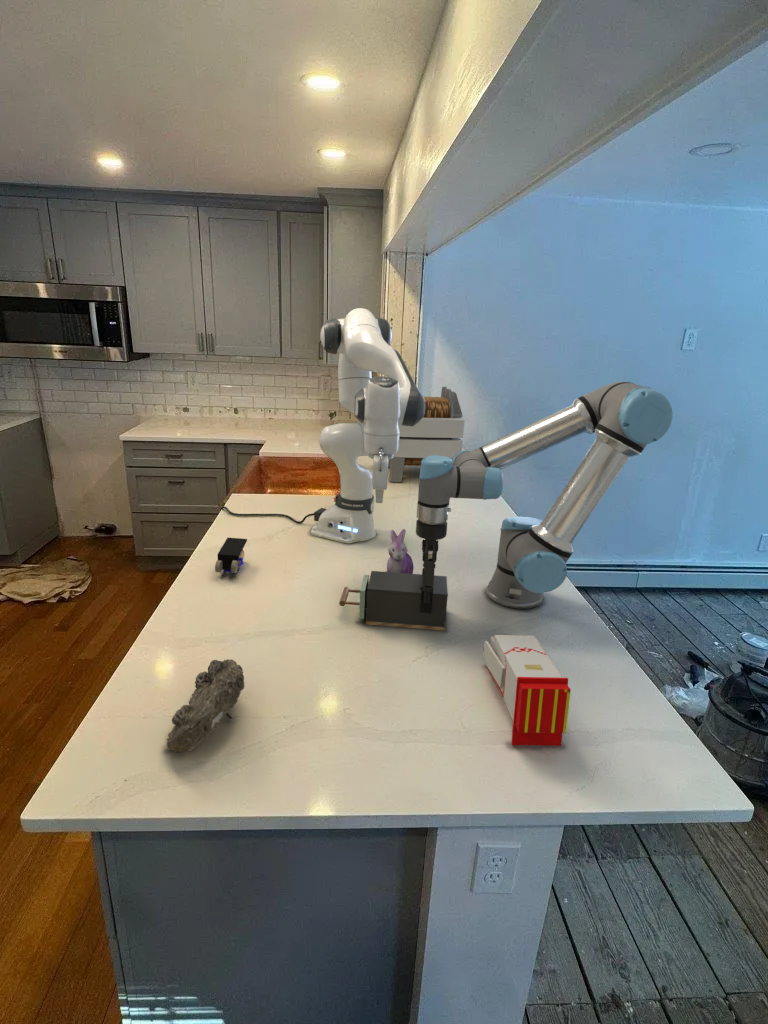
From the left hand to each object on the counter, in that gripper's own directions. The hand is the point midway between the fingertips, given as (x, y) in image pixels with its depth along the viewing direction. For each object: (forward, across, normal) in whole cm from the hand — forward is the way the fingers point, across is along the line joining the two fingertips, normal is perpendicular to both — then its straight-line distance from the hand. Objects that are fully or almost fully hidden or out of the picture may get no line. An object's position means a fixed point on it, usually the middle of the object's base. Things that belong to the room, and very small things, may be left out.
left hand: (379, 496), depth 146 cm
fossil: (+29, -50, +30) cm, 66 cm away
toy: (+30, -41, -30) cm, 59 cm away
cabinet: (+29, -10, -8) cm, 32 cm away
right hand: (+24, -10, -13) cm, 29 cm away
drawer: (+28, -10, -3) cm, 30 cm away
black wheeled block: (+28, +13, +43) cm, 53 cm away
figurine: (+29, +12, -7) cm, 32 cm away
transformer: (+27, +127, -19) cm, 131 cm away
